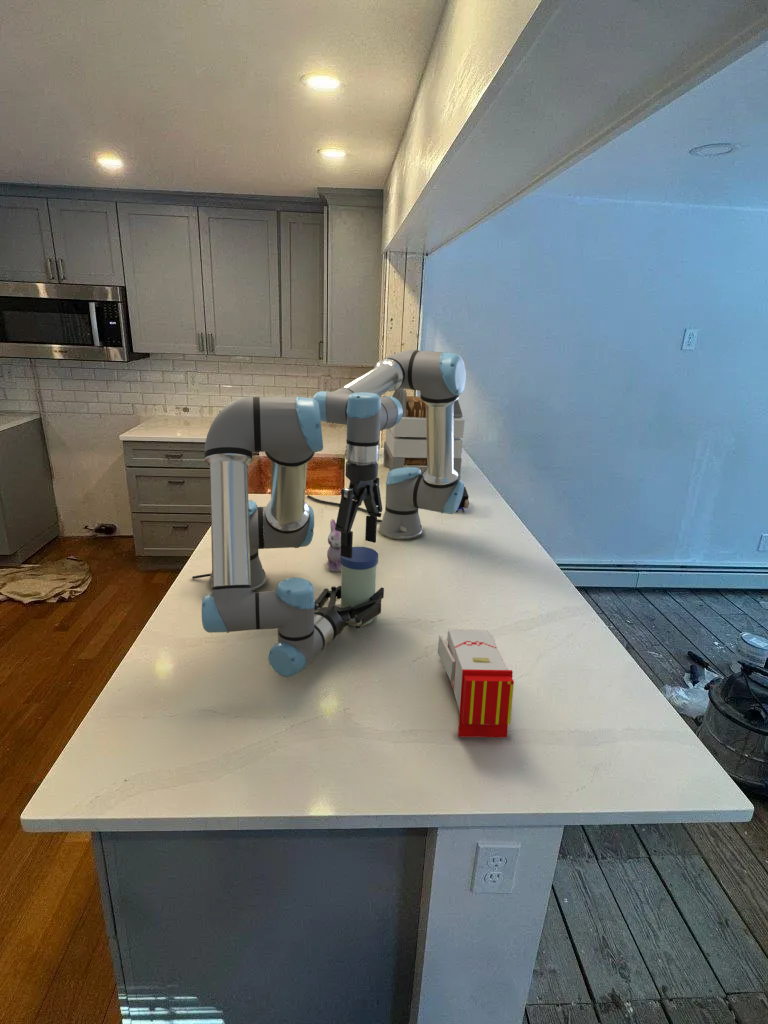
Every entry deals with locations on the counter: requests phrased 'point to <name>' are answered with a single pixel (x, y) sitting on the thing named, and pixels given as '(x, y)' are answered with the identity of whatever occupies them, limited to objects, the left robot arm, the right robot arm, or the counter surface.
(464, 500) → the figurine character
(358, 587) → the jar
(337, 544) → the figurine
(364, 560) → the lid
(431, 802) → the counter surface
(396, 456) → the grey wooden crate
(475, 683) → the toy
